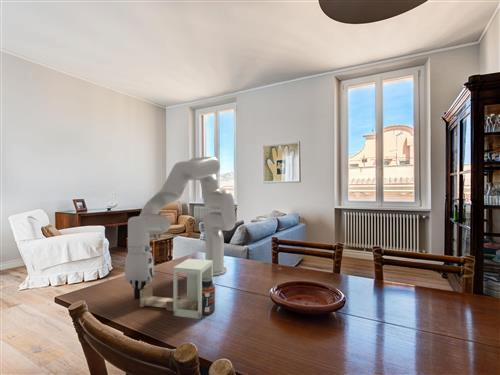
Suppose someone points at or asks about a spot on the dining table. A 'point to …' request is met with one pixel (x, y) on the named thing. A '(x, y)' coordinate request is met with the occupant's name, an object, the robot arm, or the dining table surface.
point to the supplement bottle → (208, 296)
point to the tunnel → (191, 284)
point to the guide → (170, 305)
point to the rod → (163, 300)
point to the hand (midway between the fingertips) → (138, 297)
